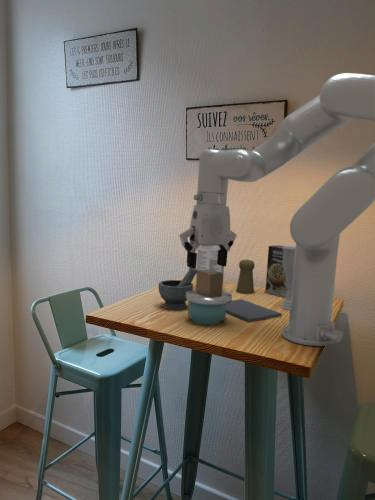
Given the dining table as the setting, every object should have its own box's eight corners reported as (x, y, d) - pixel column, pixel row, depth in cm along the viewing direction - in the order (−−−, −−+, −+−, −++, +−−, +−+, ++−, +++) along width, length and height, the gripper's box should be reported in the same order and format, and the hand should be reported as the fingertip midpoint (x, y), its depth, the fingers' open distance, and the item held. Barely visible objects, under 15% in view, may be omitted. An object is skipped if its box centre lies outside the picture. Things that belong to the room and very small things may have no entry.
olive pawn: (253, 294, 143) (255, 262, 141) (235, 293, 144) (237, 260, 143) (254, 290, 149) (256, 259, 147) (237, 289, 150) (238, 258, 149)
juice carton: (219, 294, 142) (222, 236, 139) (194, 291, 144) (196, 235, 142) (223, 289, 149) (226, 234, 146) (199, 286, 151) (202, 233, 149)
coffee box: (264, 292, 146) (267, 245, 144) (275, 290, 150) (279, 244, 148) (286, 298, 140) (290, 249, 137) (298, 295, 144) (301, 248, 142)
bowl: (233, 323, 112) (234, 300, 111) (202, 329, 106) (203, 305, 105) (210, 313, 120) (211, 292, 119) (180, 318, 114) (181, 296, 113)
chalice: (282, 303, 134) (286, 245, 131) (303, 306, 130) (308, 247, 128) (274, 308, 127) (278, 248, 125) (297, 312, 124) (302, 250, 121)
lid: (241, 301, 110) (242, 274, 109) (203, 307, 104) (204, 278, 103) (213, 291, 120) (214, 266, 119) (176, 296, 113) (177, 269, 112)
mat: (281, 316, 119) (281, 313, 119) (249, 322, 113) (249, 319, 112) (241, 301, 133) (241, 299, 133) (210, 306, 127) (210, 303, 126)
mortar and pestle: (157, 310, 120) (159, 268, 118) (158, 302, 129) (159, 262, 127) (198, 311, 120) (199, 269, 119) (195, 302, 130) (197, 263, 128)
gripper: (191, 199, 101) (187, 271, 103) (247, 202, 110) (241, 267, 113) (174, 197, 107) (170, 265, 109) (228, 200, 116) (224, 262, 119)
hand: (206, 266), depth 111 cm, fingers open, 9 cm apart
